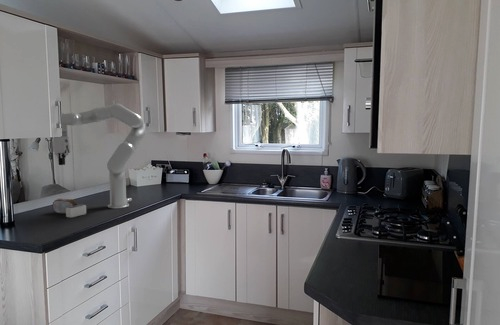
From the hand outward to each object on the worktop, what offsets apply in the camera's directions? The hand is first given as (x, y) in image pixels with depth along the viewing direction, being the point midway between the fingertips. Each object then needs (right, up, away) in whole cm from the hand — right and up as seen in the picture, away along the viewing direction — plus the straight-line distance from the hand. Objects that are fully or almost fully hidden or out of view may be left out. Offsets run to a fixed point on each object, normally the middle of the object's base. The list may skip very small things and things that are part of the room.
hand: (61, 164), depth 218 cm
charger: (+14, -29, -12) cm, 34 cm away
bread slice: (+6, -28, -8) cm, 30 cm away
